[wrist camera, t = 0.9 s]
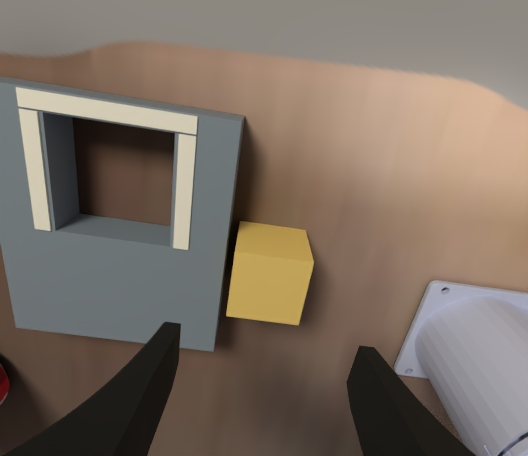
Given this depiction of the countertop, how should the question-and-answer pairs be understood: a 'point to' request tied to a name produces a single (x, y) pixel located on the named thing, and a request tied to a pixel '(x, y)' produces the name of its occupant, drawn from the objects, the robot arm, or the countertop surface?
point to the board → (113, 220)
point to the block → (269, 273)
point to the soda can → (3, 384)
